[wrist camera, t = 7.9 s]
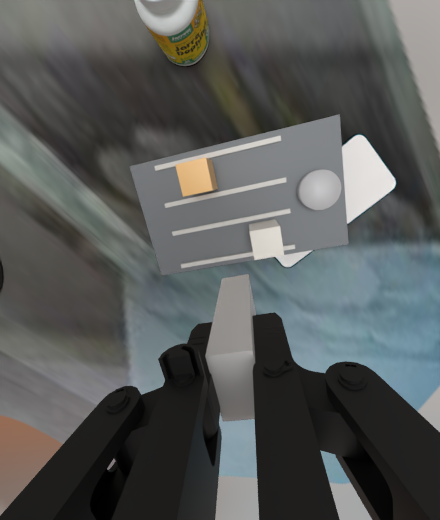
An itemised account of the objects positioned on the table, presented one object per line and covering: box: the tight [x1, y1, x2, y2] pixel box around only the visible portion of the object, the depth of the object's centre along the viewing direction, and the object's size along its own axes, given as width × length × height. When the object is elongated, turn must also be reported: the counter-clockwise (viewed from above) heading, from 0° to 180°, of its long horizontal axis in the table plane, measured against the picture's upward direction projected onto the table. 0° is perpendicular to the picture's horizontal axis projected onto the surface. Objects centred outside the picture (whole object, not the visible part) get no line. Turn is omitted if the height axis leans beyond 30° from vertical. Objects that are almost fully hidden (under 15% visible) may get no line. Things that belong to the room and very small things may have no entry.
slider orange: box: [175, 157, 218, 197], centre depth 26 cm, size 3×3×4 cm
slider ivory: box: [249, 219, 284, 260], centre depth 27 cm, size 3×3×4 cm
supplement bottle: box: [134, 0, 209, 66], centre depth 22 cm, size 5×5×10 cm
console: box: [130, 115, 348, 276], centre depth 29 cm, size 23×14×4 cm, turn 102°
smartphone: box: [275, 134, 397, 268], centre depth 30 cm, size 8×1×16 cm
